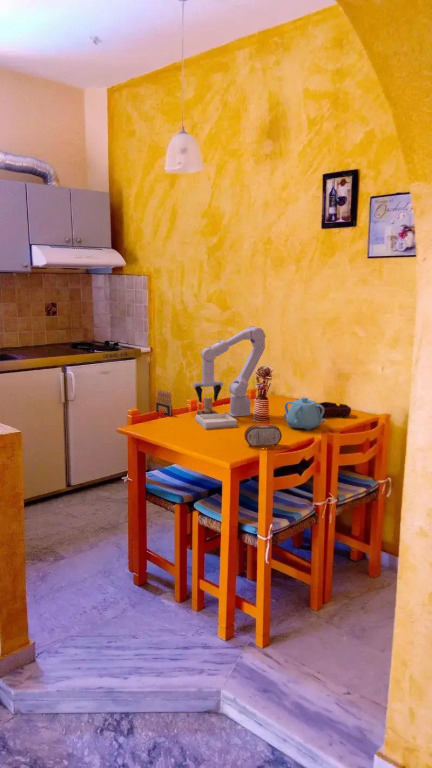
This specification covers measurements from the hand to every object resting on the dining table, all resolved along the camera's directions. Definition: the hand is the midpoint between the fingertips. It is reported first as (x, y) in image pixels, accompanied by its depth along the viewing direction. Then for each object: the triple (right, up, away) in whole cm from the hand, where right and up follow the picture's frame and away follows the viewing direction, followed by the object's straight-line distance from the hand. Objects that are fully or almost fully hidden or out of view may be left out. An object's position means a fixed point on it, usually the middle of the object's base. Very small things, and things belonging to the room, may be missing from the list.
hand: (207, 401), depth 282 cm
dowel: (0, -7, +1) cm, 8 cm away
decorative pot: (+44, -11, -16) cm, 48 cm away
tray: (+4, -10, -13) cm, 17 cm away
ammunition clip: (-22, -7, +6) cm, 23 cm away
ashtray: (+60, -7, +8) cm, 61 cm away
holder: (0, -7, +1) cm, 8 cm away
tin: (+23, -17, -46) cm, 54 cm away
